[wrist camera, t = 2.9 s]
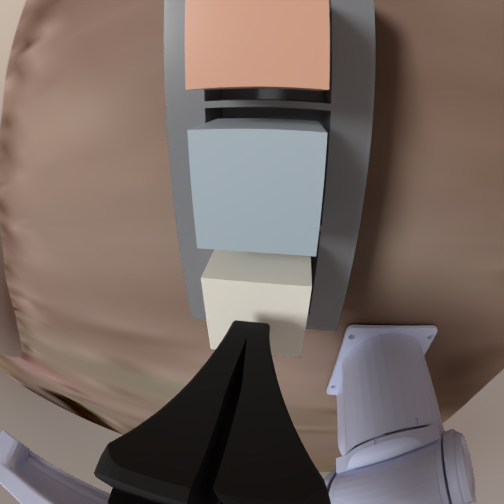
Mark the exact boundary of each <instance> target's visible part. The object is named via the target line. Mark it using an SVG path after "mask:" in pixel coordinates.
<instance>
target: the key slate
mask: <svg viewBox="0 0 504 504" xmlns="http://www.w3.org/2000/svg"><path fill="white" fill-rule="evenodd" d="M187 133H188V150H189V164H190V178H191V190H192V201H193V212H194V222H195V232H196V242H197V248H200V249H215V250H229V251H244V252H258V253H273V254H287V255H302V256H316V253H317V245H318V236H319V227H320V218H321V208H322V198H323V187H324V175H325V162H326V148H327V132H326V130H325V129H324V128H323V127H322V125H321V124H320V123H319V122H318V121H309V120H293V119H267V118H223V119H215V120H212V121H210V122H207V123H204V124H202V125H199V126H197V127H194V128H192V129H189V130H187Z"/></svg>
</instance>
